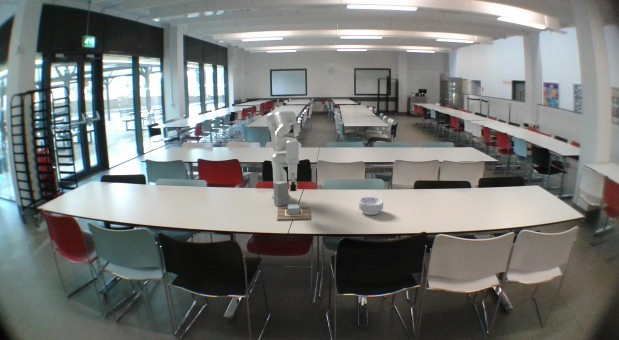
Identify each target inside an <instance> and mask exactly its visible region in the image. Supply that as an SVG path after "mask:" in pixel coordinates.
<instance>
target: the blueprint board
mask: <svg viewBox="0 0 619 340" xmlns="http://www.w3.org/2000/svg"><path fill="white" fill-rule="evenodd" d="M276 220H277V221H279V222H280V221H307V220H308V221H310V220H311V214H310V207H309V206H300V204H289V205H287V206H281V207H278V206H277V217H276Z"/></svg>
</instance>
